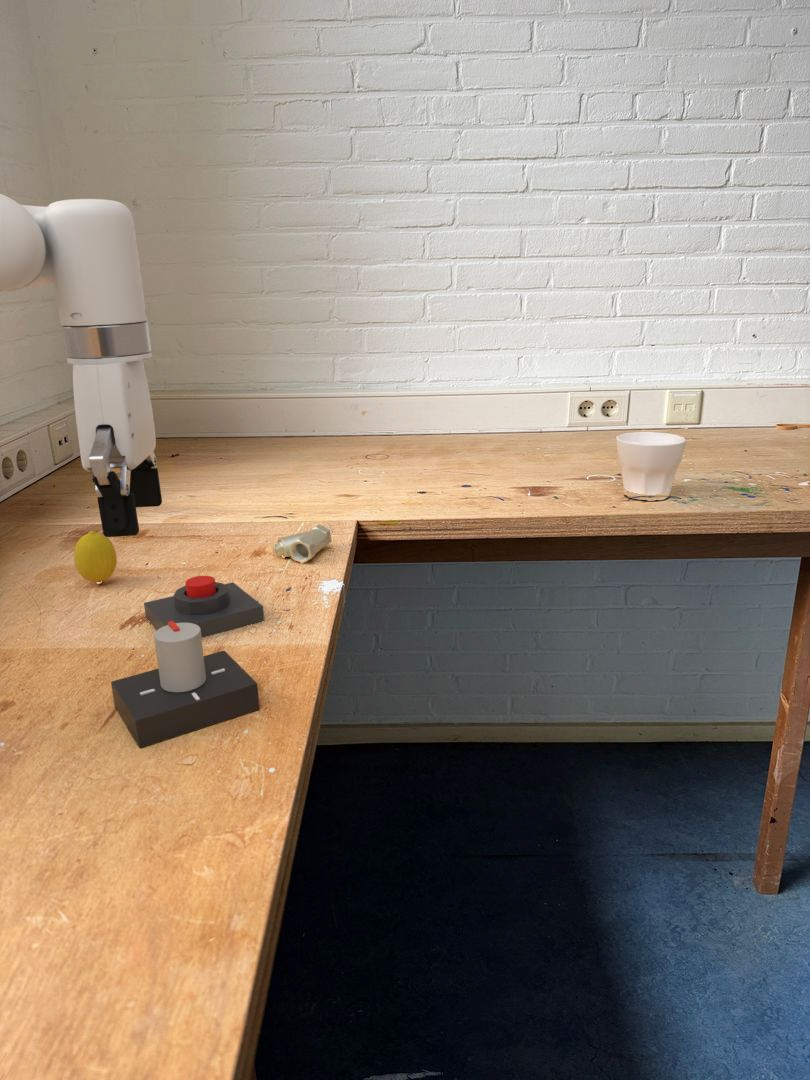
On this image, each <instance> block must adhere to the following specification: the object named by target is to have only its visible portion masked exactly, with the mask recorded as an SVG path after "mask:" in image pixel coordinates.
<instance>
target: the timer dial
mask: <svg viewBox="0 0 810 1080" xmlns="http://www.w3.org/2000/svg"><path fill="white" fill-rule="evenodd" d="M153 638H154V639H153V640H154V646H155V654H156V661H157V669H159V677H160V684H161V687H162V688H163V689H164V690H166V691H168V692H186V691H191V690H194V689H196V688H198V687H200V686H201V685H203V684H204V682H205V681H206V673H205V664H204V656H205V655H204V648H203V647H204V646H203V638H201V629H200V627H199V626H198V625H196V624H193V623H174V622H173V621H170V622H168V625H167V626H164V627H162V628H160V629H158V630H156V631H155V632H154V634H153Z"/></svg>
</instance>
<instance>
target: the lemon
mask: <svg viewBox="0 0 810 1080" xmlns="http://www.w3.org/2000/svg"><path fill="white" fill-rule="evenodd" d="M117 557H118V556H117V552H116V549H115V547H114V544H113V543H112V541H111V539H110V537H105V536H104V534H103V533H100V532H96V531H95V530H89V531H88V533H86V534H84V535H83V536H81V537H80V538H79V539H78V540H77V542H76V544H75V547H74V554H73V558H74V559H73V560H74V565H75V568H76V570H77V572H78V573H79V575H80V576H81V578H83V579H85V580H86V581H89V582H93V583H95V582H101V581H104V582H105V580H108V579H109V578H110V577H112V575H113V574H114V573H115V570H116V567H117V562H118V558H117Z"/></svg>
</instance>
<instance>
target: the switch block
mask: <svg viewBox="0 0 810 1080" xmlns="http://www.w3.org/2000/svg"><path fill="white" fill-rule="evenodd" d="M215 585H216V593H215V594H213V595H211V596H207V597H203V598H192V597H188V596H187V593H186V584H185V585H183V586H181V587H179V588H178V589H176V590H175V591H174V594H173V595H171V596H168V597H163V598H159V599H155V600H149V601H146V602H144V603H143V607H144V614H145V615H144V616H145V619H146V618H147V619H148V620H149V621H150V622H149V621H148V620H147V619H146V620H147V621H148V622H149V623H150V625H151V624H152V625H153V626H154V627H153V626H152V625H151V626H152V627H153V628H154V629H155V630H156V631H157V630H158V629H160V628H162V627H164V626H167V625H168V622H170V621H173V622H174V623H193V624H196V625H198V626H199V627H200V629H201V638H202V639H203V638H206V637H211V636H214V635H217V634H221V633H225V632H229V631H233V630H236V629H237V630H238V629H240V628H244V626H245V627H248V626H247V625H249V626H252V625H256V624H259V622H260V623H263V622H262V621H264V622H265V615H264V614H265V613H264V605H262V604H261V603H260V602H258V600H256V599H255V598H254V597H252V596H251V595H250V594H248V593H247V592H246V591H245V590H243V589H242V588H241V587H240V586H239V585H237V584H236V583H235V582H234V581H233V582H228V583H223V582H218V581H215ZM255 623H256V624H255ZM251 624H252V625H251Z"/></svg>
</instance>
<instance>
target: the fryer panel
mask: <svg viewBox="0 0 810 1080" xmlns="http://www.w3.org/2000/svg"><path fill="white" fill-rule="evenodd" d="M204 664H205V673H206V681H205V682H204V684H203V685H201V686H200V687H198V688H196V689H194V690H191V691H186V692H168V691H166V690H164V689H163V688H162V687H161V684H160V677H159V669H158V668H155V669H152V670H148V671H144V672H140V673H137V674H134V675H130V676H126V677H123V678H119V679H115V680H112V681H110V684H111V692H112V698H113V703H114V704H113V705H114V708H115V710H116V711H117V713H118V715H119V716H120V718H121V720H122V721H123V723H124V725H125V726H126V728H127V730H128V731H129V733H130V735H131V736H132V738H133V740H134V741H135V743H136V744H137V747H138V748H139V749H142V748H145V747H149V746H151V745H155V744H157V743H160V742H163V741H167V740H170V739H173V738H177V737H179V736H182V735H185V734H188V733H192V732H194V731H195V732H196V731H198V730H201V729H204V728H208V727H210V726H213V725H217V724H219V723H223V722H225V721H229V720H232V719H235V718H238V717H242V716H244V715H247V714H250V713H254V712H256V711H259V710H260V698H259V688H258V687H259V686H258V682H257V681H256V680H254V678H253V677H252V676H251V675H250V674H248V672H246V670H245V669H244V668H243V667H241V665H240V664H239V663H237V661H236V660H235V659H233V657H232V656H231V655H230V654H228V652H226V650H220V651H216V652H213V653H209V654H206V655H204Z"/></svg>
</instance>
